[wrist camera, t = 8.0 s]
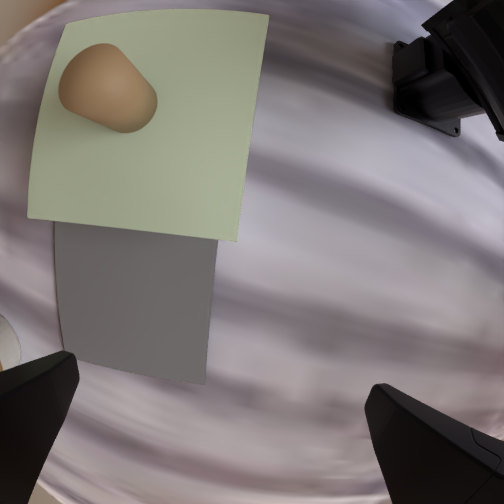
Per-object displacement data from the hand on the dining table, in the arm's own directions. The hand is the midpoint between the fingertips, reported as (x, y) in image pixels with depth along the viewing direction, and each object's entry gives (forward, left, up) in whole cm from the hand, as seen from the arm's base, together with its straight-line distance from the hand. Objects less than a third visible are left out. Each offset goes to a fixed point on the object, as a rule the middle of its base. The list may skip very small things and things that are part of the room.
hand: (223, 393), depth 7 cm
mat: (+7, +3, -12) cm, 14 cm away
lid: (+6, -9, -8) cm, 13 cm away
